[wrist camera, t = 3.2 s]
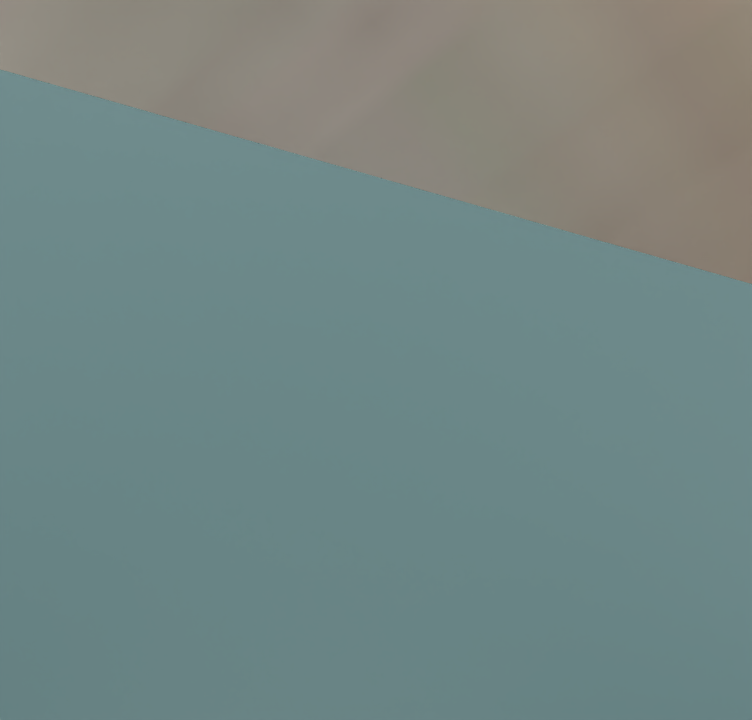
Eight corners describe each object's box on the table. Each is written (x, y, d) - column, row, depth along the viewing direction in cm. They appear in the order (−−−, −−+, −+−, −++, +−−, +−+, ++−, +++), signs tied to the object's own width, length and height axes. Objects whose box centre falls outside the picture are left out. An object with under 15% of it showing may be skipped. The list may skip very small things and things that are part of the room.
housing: (151, 609, 14) (-198, 1274, 5) (215, 185, 10) (-462, -65, 2) (418, 649, 15) (520, 1253, 6) (551, 275, 11) (1186, 409, 3)
